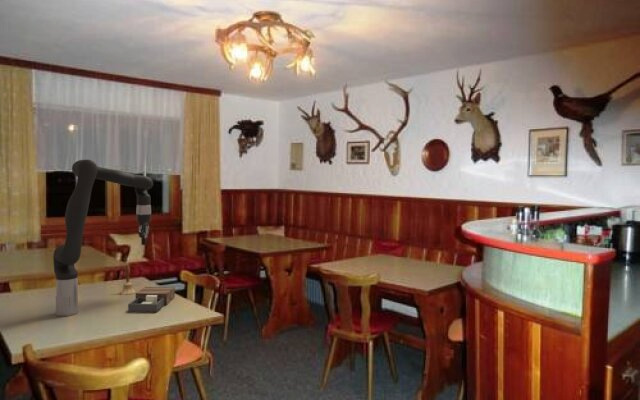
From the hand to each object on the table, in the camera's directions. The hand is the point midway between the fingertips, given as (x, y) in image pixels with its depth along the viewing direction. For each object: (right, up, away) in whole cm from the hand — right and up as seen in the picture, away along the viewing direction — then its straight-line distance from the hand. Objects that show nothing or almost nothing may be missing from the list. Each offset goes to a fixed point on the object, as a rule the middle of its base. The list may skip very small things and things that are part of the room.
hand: (143, 244), depth 250 cm
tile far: (+10, -27, -14) cm, 32 cm away
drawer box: (+9, -30, -6) cm, 31 cm away
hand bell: (-13, -29, +10) cm, 33 cm away
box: (+9, -30, -19) cm, 37 cm away
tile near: (+9, -27, -20) cm, 35 cm away
